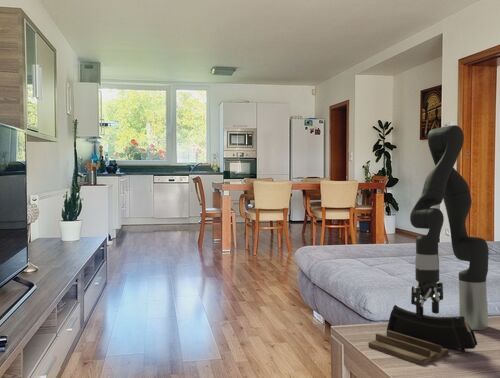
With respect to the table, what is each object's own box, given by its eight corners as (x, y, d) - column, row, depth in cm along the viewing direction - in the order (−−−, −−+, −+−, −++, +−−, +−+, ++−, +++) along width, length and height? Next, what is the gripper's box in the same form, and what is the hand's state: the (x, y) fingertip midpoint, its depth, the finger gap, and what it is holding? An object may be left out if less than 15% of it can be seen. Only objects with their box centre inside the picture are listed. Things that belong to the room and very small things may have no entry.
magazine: (379, 307, 167) (458, 296, 145) (384, 306, 169) (462, 294, 147) (393, 356, 163) (475, 352, 141) (398, 354, 165) (480, 349, 144)
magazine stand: (395, 337, 160) (395, 327, 160) (448, 354, 144) (448, 343, 144) (368, 346, 152) (368, 336, 152) (421, 365, 136) (420, 353, 136)
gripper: (430, 263, 162) (430, 309, 162) (404, 267, 154) (404, 316, 154) (449, 266, 156) (450, 314, 156) (423, 270, 148) (424, 321, 148)
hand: (427, 315), depth 155 cm, fingers open, 8 cm apart
